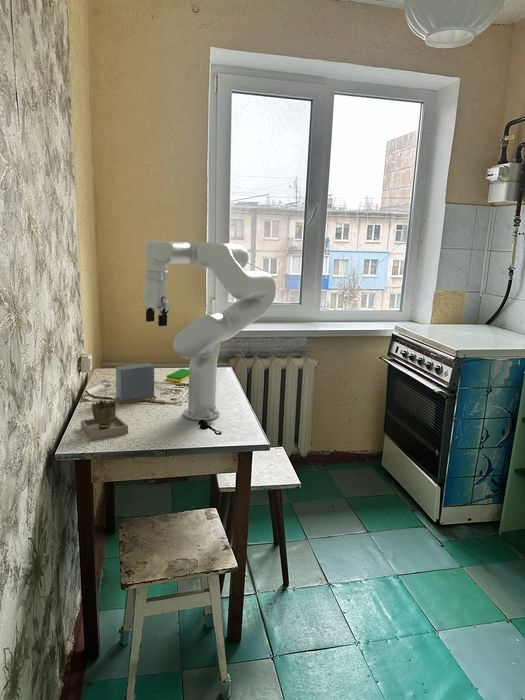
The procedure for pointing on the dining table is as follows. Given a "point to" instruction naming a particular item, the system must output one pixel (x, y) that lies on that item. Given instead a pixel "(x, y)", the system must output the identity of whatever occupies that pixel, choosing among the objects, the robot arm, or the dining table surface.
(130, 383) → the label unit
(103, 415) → the cup
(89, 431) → the tray
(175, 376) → the dish sponge
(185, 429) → the dining table surface
